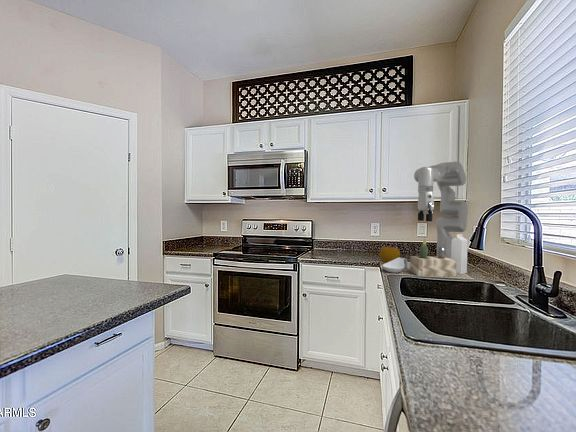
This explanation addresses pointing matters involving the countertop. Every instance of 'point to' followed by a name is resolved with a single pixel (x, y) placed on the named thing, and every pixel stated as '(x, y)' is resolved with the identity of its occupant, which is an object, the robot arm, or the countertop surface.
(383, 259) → the apple
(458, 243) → the milk
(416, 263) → the beige woven basket
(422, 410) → the countertop surface
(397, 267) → the spoon rest
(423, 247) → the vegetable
